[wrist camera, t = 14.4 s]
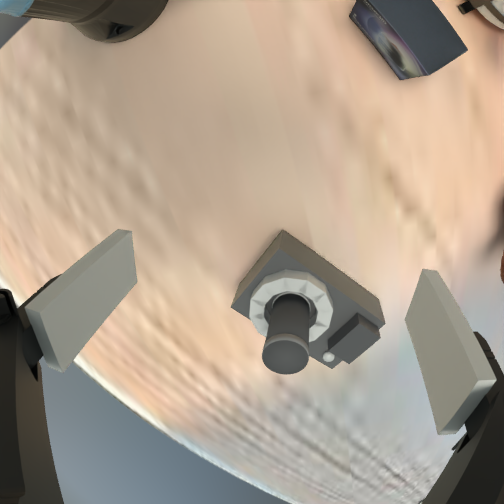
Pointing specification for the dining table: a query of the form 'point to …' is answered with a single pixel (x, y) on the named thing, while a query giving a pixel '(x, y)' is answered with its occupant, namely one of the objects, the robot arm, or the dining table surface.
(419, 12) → the small box
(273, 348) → the lens
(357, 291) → the camera body
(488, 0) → the coffee press
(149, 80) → the dining table surface
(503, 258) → the brown clay mug
